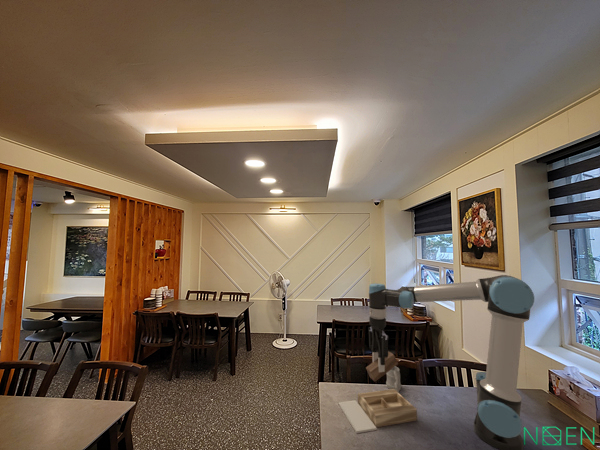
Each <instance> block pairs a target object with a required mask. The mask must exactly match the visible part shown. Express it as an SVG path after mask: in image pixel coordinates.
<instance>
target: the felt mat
mask: <svg viewBox="0 0 600 450" xmlns="http://www.w3.org/2000/svg"><path fill="white" fill-rule="evenodd" d="M338 407H339V408H340V409H341V411H342V413H343V414H344V416H345V417H346V419H347V420H348V422H349V423H350V425H351V427H352V428H353V430H354V431H355V433H356V434H361V433H367V432H373V431H377V428H378V427H376V426H375V425H374V424H373V423H372V421H371V420H370V419H369V417H368V416H367V415H366V413H365V412H364V411H363V409H362V408H361V407H360V405H359V404H358V400H356V399H353V400H346V401H340V402H338Z"/></svg>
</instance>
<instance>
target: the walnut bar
mask: <svg viewBox="0 0 600 450" xmlns="http://www.w3.org/2000/svg"><path fill="white" fill-rule="evenodd" d="M398 365H399V363H398V360H397V358H396V356H395V354H394V353H392V352H391V351H389V350H388V357H386V358H385V372H379V368H378V359H377V360H376V361H374V362H373V361H372V362H371V363H370V364H369V365H367V366H366V367H365V370H366V372H367V374H368V376H369V378H370V379H371V380H372V381H373V382H376V381H378V380H379V379H381V378H382V377H383V376H385V375H387V374H386V373H387V372H388V371H390V370H391V369H392V368H394V367H395V366H396V367H397V366H398Z"/></svg>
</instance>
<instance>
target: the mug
mask: <svg viewBox="0 0 600 450" xmlns="http://www.w3.org/2000/svg"><path fill="white" fill-rule="evenodd" d="M400 371H401V370H400V368H399V367H397V365H396V366H395V367H394V368H392V369H391V370H390V371H388V372H387V373H386V374H385V375H386V381H385V384H386V388H387V390H390V389H395V390H396V391H397V392H398V393H399V392H400V391H401V388H402V384H401V373H400Z"/></svg>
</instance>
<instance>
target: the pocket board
mask: <svg viewBox="0 0 600 450" xmlns="http://www.w3.org/2000/svg"><path fill="white" fill-rule="evenodd" d="M357 403H358V404H359V405H360V407H361V408H362V409H363V411H364V412H365V413H366V415H367V416H368V417H369V419H370V420H371V421H372V423H373V424H374V425H375V426H376V428H380V427H385V426H386V427H387V426H391V425H398V424H403V423H409V422H410V423H411V422H415V421H418V415H417V414H418V409H417V408H416V407H415V406H414V405H413V404H412V403H411V402H410V401H408V400H407V399H406V398H405V397H404V396H403V395H401V394H400V393H399V392H397V391H396V390H395V389H383V390H376V391H369V392H359V393H357Z"/></svg>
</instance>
